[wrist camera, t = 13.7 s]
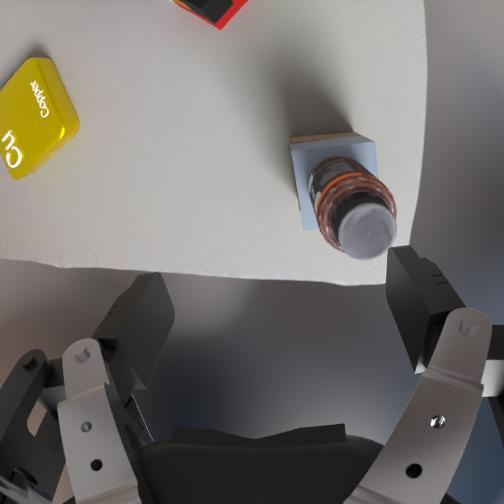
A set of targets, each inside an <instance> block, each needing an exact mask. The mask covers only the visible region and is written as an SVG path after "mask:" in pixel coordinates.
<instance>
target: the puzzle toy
mask: <svg viewBox="0 0 504 504" xmlns="http://www.w3.org/2000/svg"><path fill="white" fill-rule="evenodd" d="M169 1H170V2H172V3H174V4H176V5H178V6H180V7H182V8H184V9H186V10H187V11H189V12H191V13H193V14H195V15H196V16H198V17H200V18H202V19H203V20H205V21H207V22H208V23H210V24H212V25H213V26H215V27H217V28H218V29H220V30H221V29H222V28H223V27H224V26H225V25H226V23H227V22H228V21H229V20H230V19H231V18H232V17H233V16H234V15H235V13H236V12H237V11H238V10H239V9H240V8H241V7H242V6H243V5H244V4H245V3H246V2H247V1H248V0H169Z"/></svg>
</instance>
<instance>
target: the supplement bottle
mask: <svg viewBox="0 0 504 504" xmlns="http://www.w3.org/2000/svg"><path fill="white" fill-rule="evenodd" d="M308 191H309V196H310V200H311V203H312V206H313V209H314V213H315V216H316V220H317V223H318V226H319V229H320V231H321V234H322V235H323V237H324V238H325V240H326V241H327V242H328V244H330V245H331V246H332V247H334V248H335V249H337V250H339V251H341V252H343V253H346V254H347V255H349V256H350V257H352V258H354V259H358V260H372V259H375V258H378V257H380V256H381V255H383V254H384V253H385V252H386V251H387V250H388V249H389V248H390V247H391V246H392V244H393V242H394V240H395V237H396V232H397V225H396V216H397V210H396V204H395V201H394V198H393V196H392V194H391V192H390V191H389V190H388V188H387V187H386V186H385V185H384V184H383V183H382V182H381V181H380V180H379V179H378V178H376V177H375V176H374V175H373V174H372V173H371V172H369V171H368V170H367V169H366V168H365V167H363V166H362V165H361V164H360V163H358V162H357V161H355V160H353V159H351V158H349V157H345V156H332V157H329V158H326V159H324V160H323V161H321V162H320V163H318V164H317V165H316V166H315V168H314V169H313V171H312V173H311V175H310V178H309V182H308Z"/></svg>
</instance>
